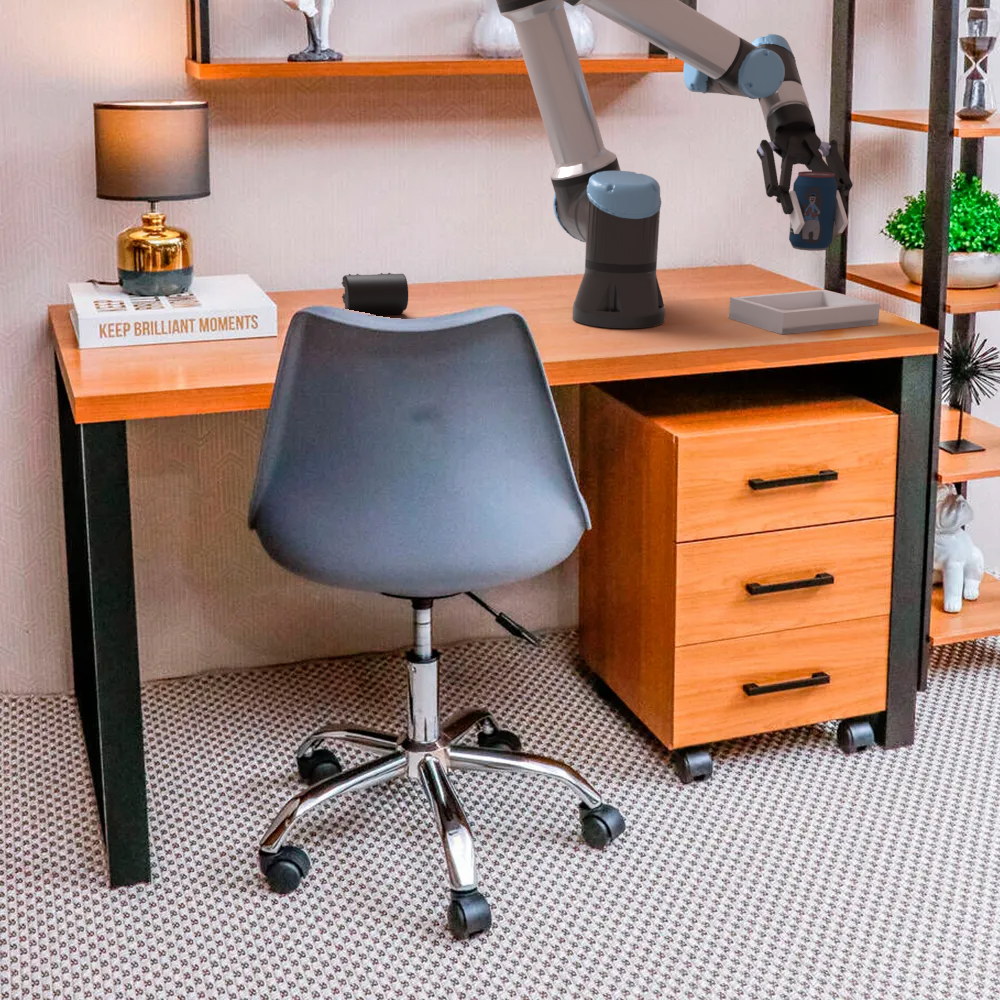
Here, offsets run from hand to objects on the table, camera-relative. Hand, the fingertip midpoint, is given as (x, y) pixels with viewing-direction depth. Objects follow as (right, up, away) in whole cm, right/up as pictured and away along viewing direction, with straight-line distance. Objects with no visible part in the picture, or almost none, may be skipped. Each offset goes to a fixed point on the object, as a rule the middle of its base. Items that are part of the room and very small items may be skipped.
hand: (821, 228), depth 229 cm
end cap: (-72, -13, +7) cm, 74 cm away
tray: (-1, -14, +8) cm, 16 cm away
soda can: (-1, -3, +5) cm, 5 cm away
